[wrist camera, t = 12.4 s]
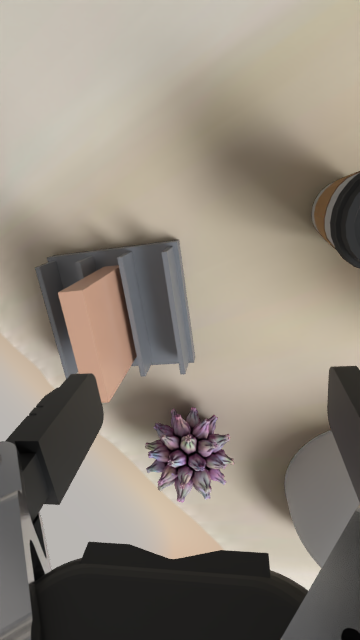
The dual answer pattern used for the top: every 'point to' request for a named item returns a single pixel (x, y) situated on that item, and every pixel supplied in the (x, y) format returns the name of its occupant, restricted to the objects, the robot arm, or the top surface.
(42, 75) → the top surface
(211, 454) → the flower
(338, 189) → the coffee cup
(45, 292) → the rack
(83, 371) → the tall peach block
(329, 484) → the kettle
